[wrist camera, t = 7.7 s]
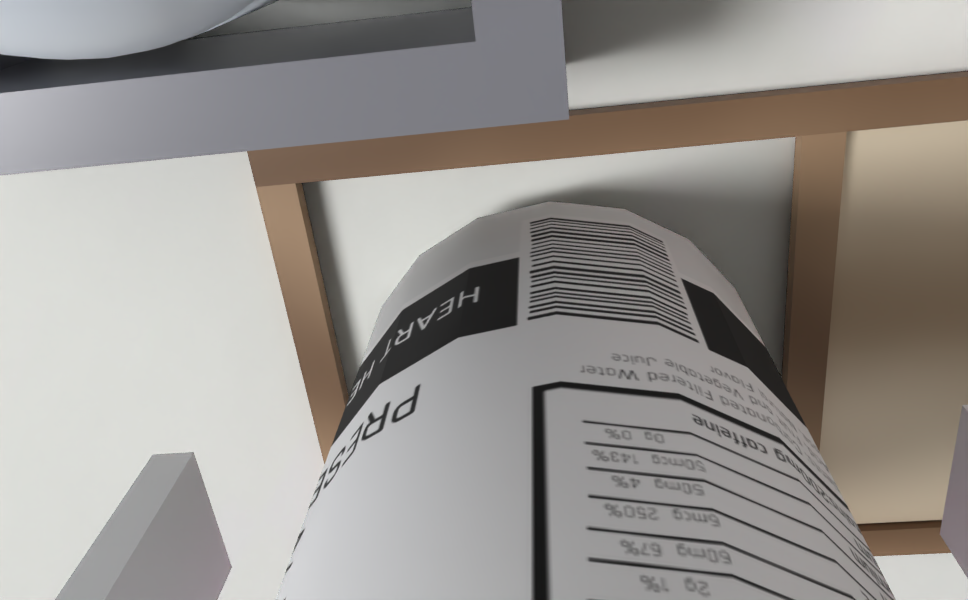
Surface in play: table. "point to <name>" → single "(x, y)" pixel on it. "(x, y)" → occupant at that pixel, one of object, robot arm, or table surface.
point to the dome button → (109, 25)
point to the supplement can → (573, 434)
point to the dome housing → (288, 88)
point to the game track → (811, 266)
